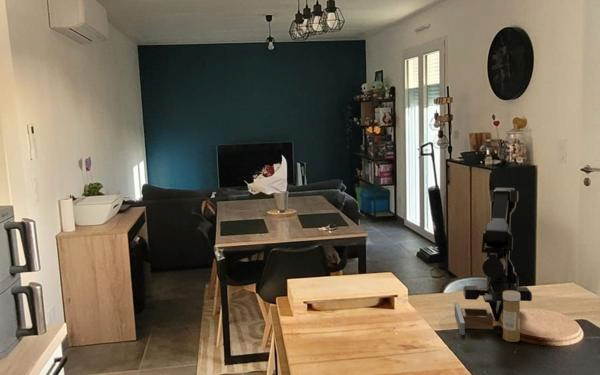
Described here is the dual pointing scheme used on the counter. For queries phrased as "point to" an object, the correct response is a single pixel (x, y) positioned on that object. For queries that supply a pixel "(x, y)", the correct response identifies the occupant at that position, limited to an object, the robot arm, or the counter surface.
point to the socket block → (477, 318)
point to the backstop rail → (459, 319)
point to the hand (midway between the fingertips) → (496, 321)
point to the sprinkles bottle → (511, 316)
